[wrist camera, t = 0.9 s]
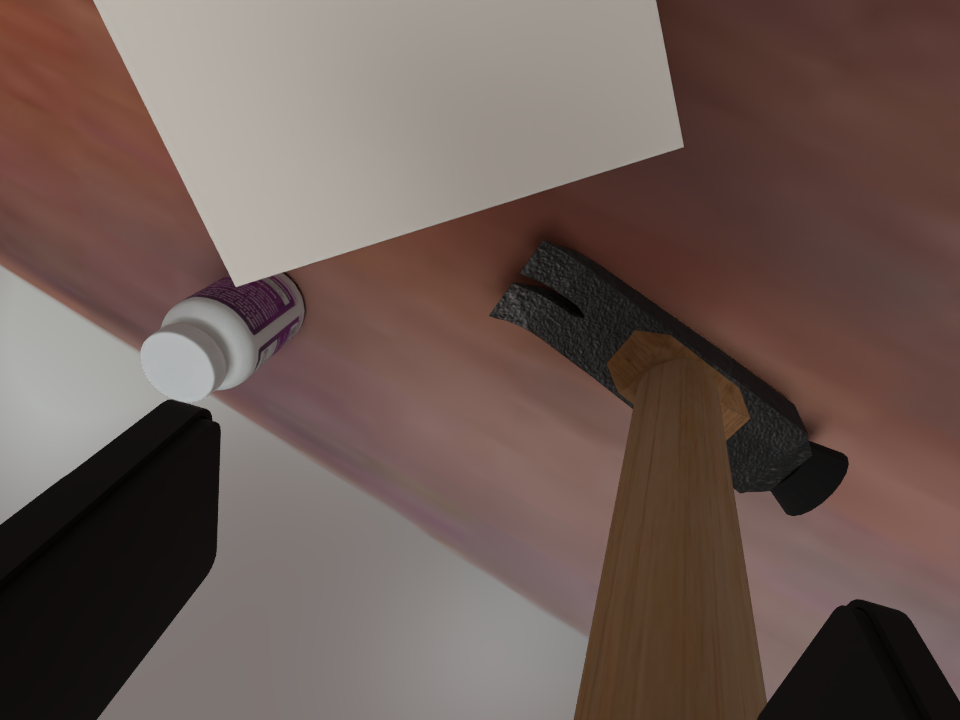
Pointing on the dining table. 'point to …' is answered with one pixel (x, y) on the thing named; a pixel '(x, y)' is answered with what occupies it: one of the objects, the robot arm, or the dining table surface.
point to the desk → (387, 110)
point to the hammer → (672, 495)
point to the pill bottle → (221, 336)
